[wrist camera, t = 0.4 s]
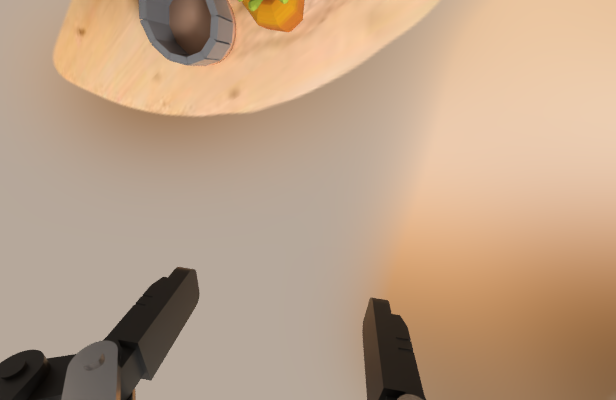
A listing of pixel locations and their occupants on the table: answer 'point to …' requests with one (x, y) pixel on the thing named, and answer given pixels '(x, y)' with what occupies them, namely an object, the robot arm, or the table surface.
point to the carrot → (276, 13)
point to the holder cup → (189, 29)
